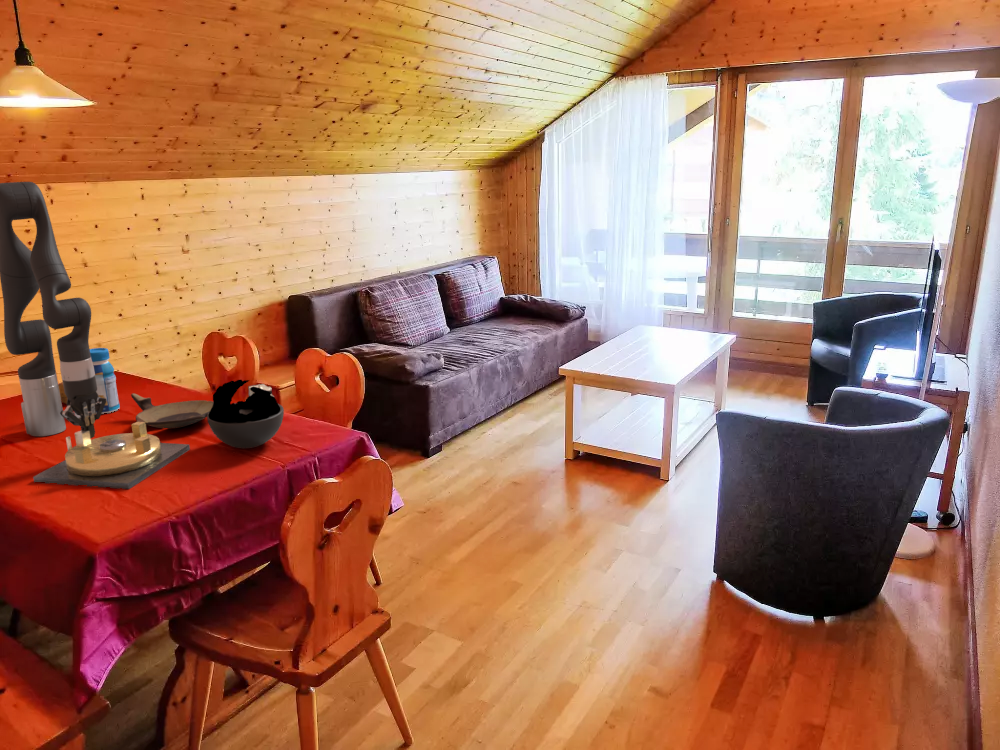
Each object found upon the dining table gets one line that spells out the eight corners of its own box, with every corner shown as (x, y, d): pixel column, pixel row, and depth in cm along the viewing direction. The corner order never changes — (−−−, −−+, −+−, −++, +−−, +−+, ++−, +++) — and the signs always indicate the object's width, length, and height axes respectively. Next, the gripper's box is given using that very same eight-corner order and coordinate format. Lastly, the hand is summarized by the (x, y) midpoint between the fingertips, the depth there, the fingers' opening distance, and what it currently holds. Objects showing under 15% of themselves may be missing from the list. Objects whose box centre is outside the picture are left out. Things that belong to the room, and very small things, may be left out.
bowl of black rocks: (211, 438, 210) (203, 375, 205) (283, 429, 217) (278, 368, 211) (210, 464, 192) (202, 395, 187) (289, 453, 198) (283, 387, 193)
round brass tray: (179, 447, 198) (176, 425, 197) (117, 480, 178) (113, 455, 176) (113, 440, 204) (109, 418, 202) (46, 470, 184) (41, 446, 182)
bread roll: (61, 397, 249) (57, 374, 247) (93, 393, 253) (90, 371, 251) (58, 408, 238) (54, 384, 236) (92, 403, 242) (88, 380, 240)
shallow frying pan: (157, 445, 206) (153, 419, 204) (120, 420, 226) (116, 396, 224) (233, 425, 221) (230, 401, 219) (192, 403, 241) (189, 381, 239)
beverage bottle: (123, 411, 234) (114, 350, 229) (94, 416, 229) (84, 354, 224) (116, 404, 241) (107, 345, 235) (88, 410, 235) (78, 349, 230)
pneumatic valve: (260, 429, 217) (256, 391, 214) (250, 418, 226) (246, 381, 223) (279, 426, 220) (275, 387, 216) (268, 415, 229) (264, 378, 226)
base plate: (34, 482, 181) (28, 454, 179) (105, 444, 206) (101, 419, 204) (129, 489, 177) (124, 460, 175) (190, 449, 202) (186, 423, 200)
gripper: (67, 384, 182) (79, 448, 187) (110, 369, 194) (120, 430, 199) (44, 381, 185) (57, 445, 190) (88, 367, 197) (99, 427, 202)
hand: (89, 437), depth 195 cm, fingers closed
